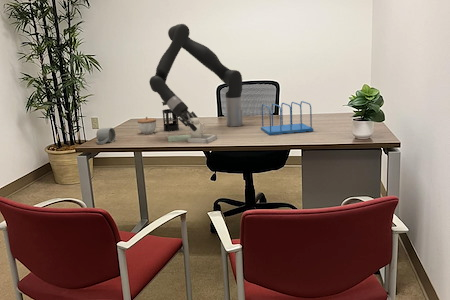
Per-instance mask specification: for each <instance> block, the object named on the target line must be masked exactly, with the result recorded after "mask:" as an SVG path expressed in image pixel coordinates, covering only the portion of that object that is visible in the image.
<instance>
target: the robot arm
mask: <svg viewBox="0 0 450 300" xmlns="http://www.w3.org/2000/svg"><path fill="white" fill-rule="evenodd" d="M167 36H168V38H169V39H170V41H171V43H170V44H169V47H168V48H167V49H166V50H165V52H164V53H163V54H162V56H161V58H160V60H159V62H158V64H157V65H156V69H155V74H154V75H153V76H151V77H150V79H149V86H150V89H151V90H152V91H153V93H157V94H158V96H160V99H161V100H162V102H165V103H166V104H167V107H168V108H169V109H171V110H172V111H173V112H174V114H175V115H176V116H177V117H178V121H179V122H181V124H183V125H184V126H185V127H189V129H190V128H191V129H192V130H193V131H196V130H197V128H196V127H195V126H194V124H192V122H191V119H190V118H199V117H198V116H197V115H196V113H195V112H194V111H189V107H188V105H187V104H186V103H185V102H184V101H183V100H182V99H181V98H180V97H179V96H178V95H177V94H176V93H175V92H174V91H173V90H172V89H171V88H170V87H169V85H168V84H167V83H166V82H167V78H168V76H169V73H170V72H171V69H172V67H173V65H174V63H175V60H176V58H177V57H178V54H179V53H180V51H181V49H183V50H184V51H186V52H187V53H189V54H190V55H191V56H192V57H193V58H195V59H196V60H197V61H198V62H199V63H200V64H202V65H203V67H205V68H207V70H210V72H212V73H213V74H215V75H216V76H217V77H218V78H219V79H220V81H222V82H223V83H224V84H225V85H227V86H228V89H227V91H226V92H225V111H226V113H225V114H226V126H227V127H240V126H243V123H244V122H243V109H242V92H243V76H242V73H241V72H240V71H239V70H235V69H230V68H228V67H226V65H224V64H223V63H222V62H221V60H220V59H219V57H218V56H217V54H216V53H215V52H213V50H212V49H210V48H209V47H207V46H206V45H204V44H202V43H200V42H198V41H195V40H194V39H192V38H191V37H189V36H190V28H189V27H188V25H186V24H184V23H179V24H176V25H173V26H171V27H170V28H169V29H168V30H167Z"/></svg>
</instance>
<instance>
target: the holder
mask: <svg viewBox="0 0 450 300" xmlns="http://www.w3.org/2000/svg"><path fill="white" fill-rule="evenodd" d="M217 139H218V136H217V134H203V133H202V139H197V138H188V140H187V143H193V144H194V143H195V144H209V143H211V142H213V141H216V140H217Z"/></svg>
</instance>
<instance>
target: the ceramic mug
mask: <svg viewBox="0 0 450 300" xmlns="http://www.w3.org/2000/svg"><path fill="white" fill-rule="evenodd" d="M95 135H96V136H95V137H96V138H97V139H96V143H97V144H98V145H104V144H106V143H114V142H115V140H116V137H117V136H116V131H115V128H113V127H107V128H106V127H105V128H104V127H103V128H98V129H97V131H96V134H95Z"/></svg>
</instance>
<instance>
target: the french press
mask: <svg viewBox="0 0 450 300" xmlns="http://www.w3.org/2000/svg"><path fill="white" fill-rule="evenodd" d="M161 103H162V106H163V107H164V106H166V105H167V104H166V103H165V102H164V101H161ZM167 106H168V105H167ZM161 112H162V119H163V121H162V122H163V132H176V131H179V130H180V123H179V119H178V118H179V117H177V116H176V115H175V114H174V112H173V111H172V110H171V109H170V108H169V109H168V108H166V109H163V110H162V111H161Z"/></svg>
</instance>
